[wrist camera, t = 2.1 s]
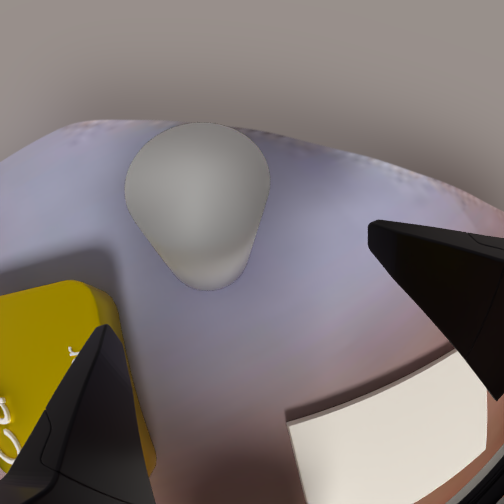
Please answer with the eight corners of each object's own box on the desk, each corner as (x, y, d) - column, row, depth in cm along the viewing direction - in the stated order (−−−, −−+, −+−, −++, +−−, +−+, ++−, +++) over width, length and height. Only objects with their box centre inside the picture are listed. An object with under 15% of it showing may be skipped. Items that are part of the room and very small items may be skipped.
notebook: (479, 447, 17) (485, 449, 16) (315, 540, 14) (318, 546, 13) (474, 335, 20) (480, 335, 20) (285, 422, 17) (288, 426, 17)
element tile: (165, 472, 16) (152, 501, 11) (25, 463, 13) (-2, 477, 9) (116, 285, 20) (88, 270, 15) (-11, 311, 17) (-44, 303, 13)
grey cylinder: (251, 289, 20) (276, 246, 11) (166, 291, 19) (116, 250, 10) (247, 211, 22) (264, 122, 12) (169, 213, 21) (136, 127, 12)
